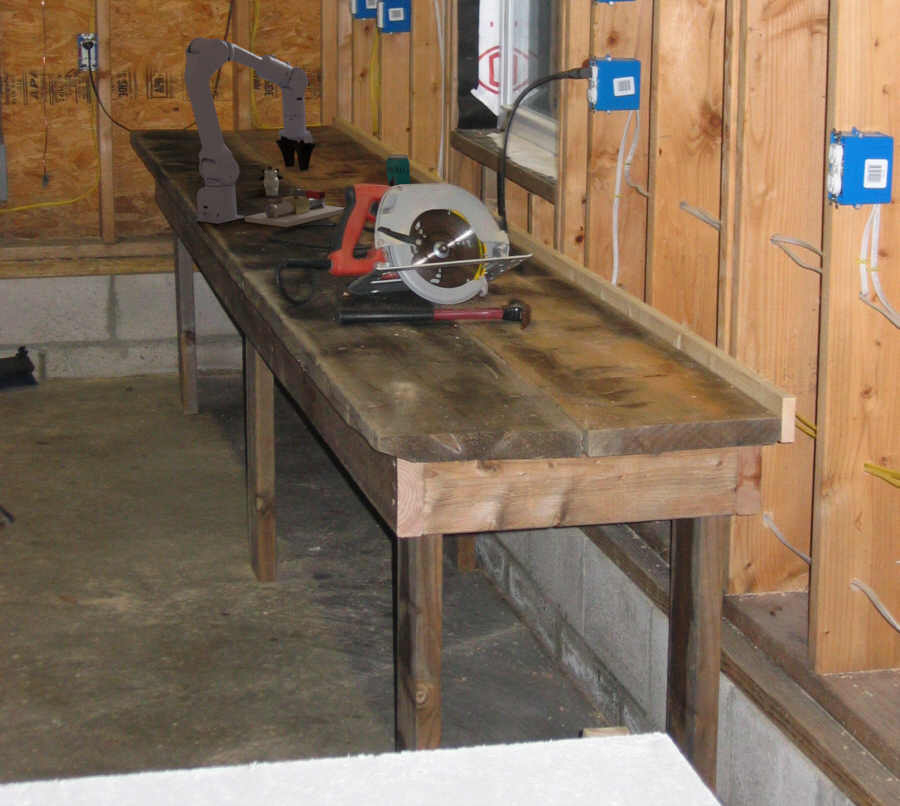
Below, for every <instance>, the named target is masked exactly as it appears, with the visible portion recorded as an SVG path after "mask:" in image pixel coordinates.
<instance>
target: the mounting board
mask: <svg viewBox="0 0 900 806" xmlns="http://www.w3.org/2000/svg"><path fill="white" fill-rule="evenodd" d="M344 208H345V207H340V206H335V205H334V206H333V205H325V207H322V208H321V207H318V208H314V209H310V212H306V213H302V214H298V215H295V214H288V215H283V216H279V217H277V218H275V219H274V218H268V217H267V216H266V213H265V211H264V212H261V213H255V214H252V215H247V216H245V218H244V220H245V222H247V223H254V224H261V225H268V226H276V227H284V228H288V227H293V226H297V225H300V224H305V223H310V222H313V221H317V220H322V219H327V218H331V217H335V216H338V215H342V214H341V213H342V212H343V209H344Z"/></svg>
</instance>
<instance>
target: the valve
mask: <svg viewBox="0 0 900 806" xmlns="http://www.w3.org/2000/svg"><path fill="white" fill-rule="evenodd" d="M260 172H261V173H263V174H262V175H260V176H258V180H259V181H263V183H262V184H261V186H262V188H265V196H268V197H269V196H271V197H272V196H278V195H279V187H280V186H281V183H280V180H282V179H284V178H283V175H282V174H279V172H280V169H279V168H275V169H273V166H272V165H268V167H267V170H266V169H264V168H261V171H260Z"/></svg>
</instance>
